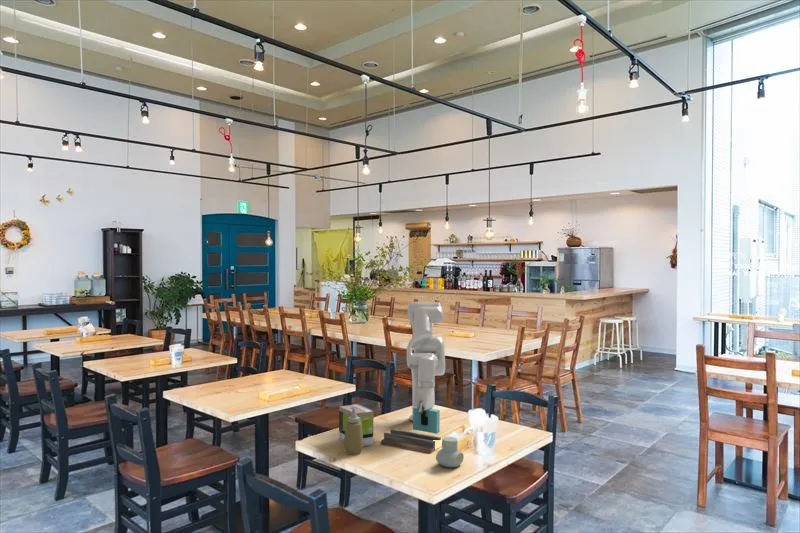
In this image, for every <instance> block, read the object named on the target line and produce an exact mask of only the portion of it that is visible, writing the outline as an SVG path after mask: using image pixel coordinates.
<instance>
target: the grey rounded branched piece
mask: <svg viewBox="0 0 800 533" xmlns="http://www.w3.org/2000/svg"><path fill="white" fill-rule="evenodd" d="M441 441H442V446H441V449H440V448H439V449H438V451H437V453H436V455H435V460H436V462H437V463H438V465H440V466H441V467H445V468H457V467H459V466H460V465H462V463H463V462H464V454H463V452H462V451H461V450H460V449H458V448H459V447H458V445H459V444H458V439H457V438H456V437H452V436H446V437H443V438H442V440H441Z"/></svg>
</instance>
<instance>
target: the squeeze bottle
mask: <svg viewBox="0 0 800 533" xmlns="http://www.w3.org/2000/svg"><path fill="white" fill-rule="evenodd" d="M359 421H360V418H359V417H357V414H356V409H355V408H353V409H352V413H351V417H349V418H348V423H347V424H346V428H345V438H344V441H343V445H344V448H345V452H346V454H348V455H352V456H353V455H359V454H361V452H362V449H363V447H364V446H363V433H362V424H361V423H360V422H359Z"/></svg>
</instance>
